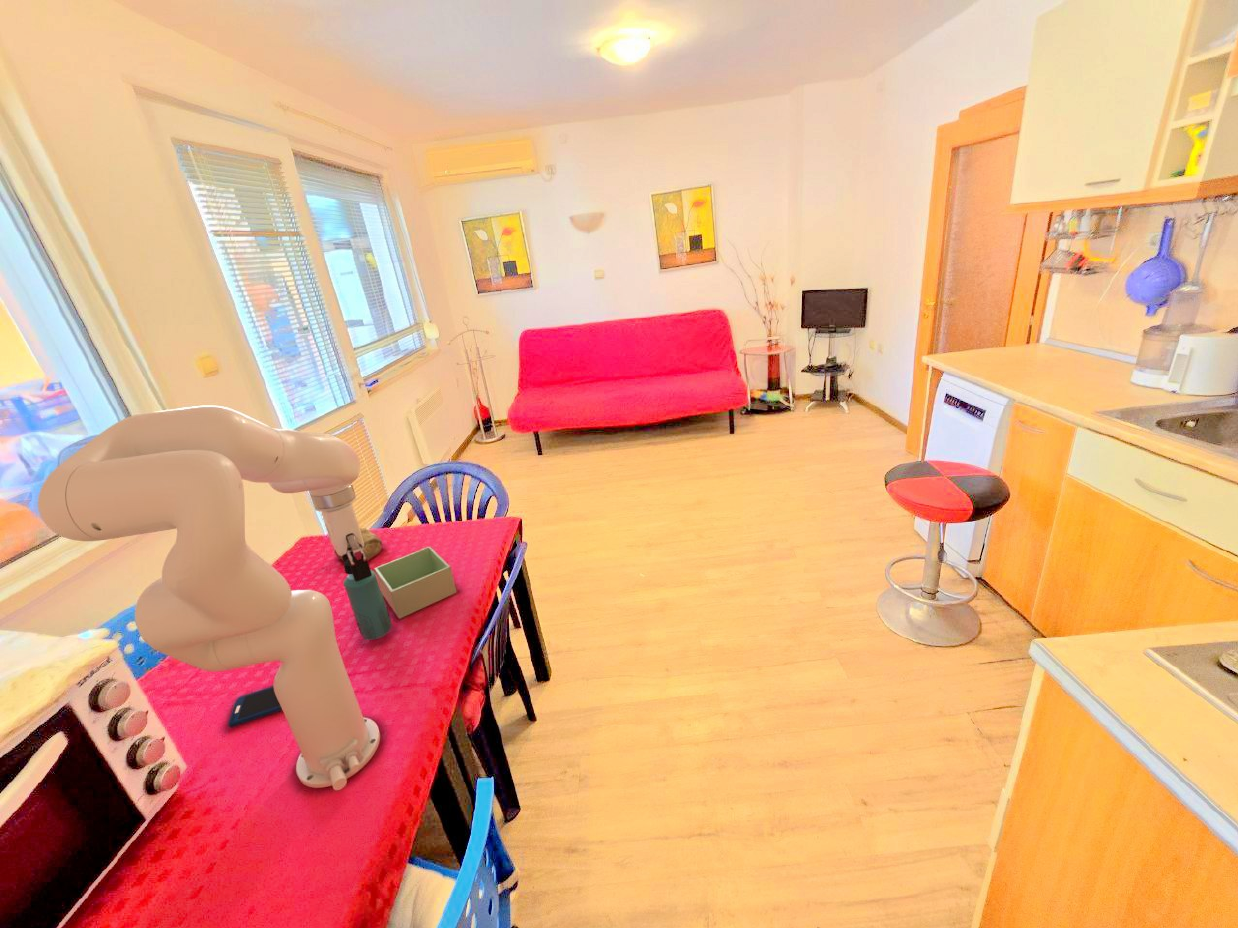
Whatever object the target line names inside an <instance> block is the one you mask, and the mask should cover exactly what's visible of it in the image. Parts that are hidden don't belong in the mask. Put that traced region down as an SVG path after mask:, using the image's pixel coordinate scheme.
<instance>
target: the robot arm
mask: <svg viewBox="0 0 1238 928" xmlns="http://www.w3.org/2000/svg"><path fill="white" fill-rule="evenodd" d="M360 472H361V462H360V458H359V455H358V453H357V452H356V450H355V448H353V446H351V445H350V444H349V443H348V442H347V441H345V440H343V439H341V438H339V437H337V436H335V435H333V434H329V433H328V434H327V433H317V432H311V431H310V432H309V431H301V430H294V429H285V428H275V427H272V426H271V425H268V424H266V423H264V422H261V421H259V420H257V419H255V418H253V417H251V416H249V415H246V414H244V413H242V412H240V411H238V410H234V409H233V408H229V407H226V406H223V405H221V406H220V405H199V406H198V405H197V406H190V407H189V406H188V407H180V408H174V409H165V410H158V411H150V412H143V413H137V414H133V415H129V416H128V417H126V418H123V419H122V420H119V421H118V422H116V423H113V424H112V425H110V426H109V427H108V428H106V429H105V430H103V431H102V432H101V433H99V434H98V435H97V436H95V437H93V439H90V441H89V442H87V443H85V445H84V446H82V447H81V448H79V449H78V450H77V451H76V452H75V453H73V454H72V455H71V456H69V457H68V458H67V459H66V460H64V461H63V462H61V463H60V464H59V465H58V466H57V467H56V468H55V469H53V470H52V472H51V473H49V475H48V476H47V478H46V479H45V480H44V482H43V483H42V485H41V488H40V491H39V493H38V498H37V508H38V512H39V515H40V517H41V521H42V522H43V523H44V524H45V526H46V528H48V529H49V530H50V531H51V532H52V533H55V534H57V535H58V536H60V537H61V538H65V539H68V540H70V541H78V542H101V541H107V540H114V539H119V538H120V539H121V538H126V537H131V536H132V537H133V536H139V535H145V534H151V533H157V532H163V531H170V530H176V539H175V542H174V544H173V545H172V547H171V548H170V550H169V552H168V553H167V555H166V557H165V560H164V562H163V565H162V569H161V577H160V578H158V579H155V580H154V581H153V582H152V583H150V584H149V585H148V586H146V588H145V589H143V591H142V592H141V593H140V595H139V597H138V599H137V601H136V604H135V609H134V622H135V626H136V628H137V631H138V633H139V635H140V636H141V638H142V640H143V641H144V642H145V643H146V645H148V646H149V647H150V648H151V649H153V650H154V651H156V652H159V653H161V654H162V655H165V656H167V657H170V658H172V659H175V660H177V661H179V662H182V663H184V664H187V665H189V666H191V667H194V668H196V669H199V670H202V671H205V672H206V671H207V672H213V673H214V672H224V671H225V672H226V671H230V670H236V669H241V668H246V667H251V666H255V665H260V664H266V663H272V662H279V663H281V664H280V665H279V667H278V669H277V671H276V673H275V674H274V678H273V683H272V684H273V685H272V686H273V687H274V692H275V695H276V697H277V700H278V701H279V703H280V706H281V708H282V710H281V711H282V712H283V714H284V718H285V720H286V722H287V724H288V726H289V729H290V731H291V733H292V735H293V738H294V740H295V742H296V744H297V747H298V749H299V751H300V754H299V755H298V759H297V760H296V764H295V765H296V766H295V773H296V775H297V777H298V780H299V781H300V782H301V783H302V784H303V785H304V786H306V787H309V788H314V789H319V788H327V787H332V789H333V790H334V791H340V790H342V789H344V788H345V787H346V785H347V783H348V779H349V778H351V777H352V776H354V775H355V774H357V773H358V772H359V771H360V770H362V769H363V768H364V767H365V766H366V765H367V764H368V763H369V762H370V760H371V759H372V758H373V756H374V755H375V753H376V752H377V750H378V748H379V745H380V741H381V731H380V730H379V726H378V724H377V723H376V722H375V721H374V720H373V719H371V718H368V717H365V716H364V715H363V713H362V709H361V706H360V704H359V701H358V698H357V696H356V694H355V691H354V688H353V685H352V682H351V680H350V677H349V674H348V671H347V669H346V666H345V664H344V663H345V662H344V661H343V658H342V655H341V652H340V649H339V645H338V642H337V637H336V631H335V622H334V615H333V609H332V605H331V603H330V600H329V599H328V597H327V596H326V595H325V594H324V593H322V592H320V591H317V590H314V589H296V590H295V589H294V590H292V588H291V586H290V584H289V582H288V580H287V579H286V578H285V576H283V575H282V574H281V573H280V572H279V571H278V570H277V569H276V568H275V567H274V566H272V565H271V564H270V563H269V562H268V561H267V560H265V559H264V557H262V556H261V555H259V554H258V553H257V552H256V551H254V550H253V548H252V547H250V545H249V544H248V543H247V541H246V521H245V519H246V518H245V517H246V515H245V514H246V513H245V511H246V509H245V489H244V483H243V480H244V481H248V482H252V483H259V484H263V483H264V484H266V483H267V484H269V486H270V487H271V488H272V489H273V490H274V491H276V492H278V493H282V494H296V493H297V494H298V493H304V492H308V494H309V497H310V500H311V503H312V505H313V509H314V510H315V511H317V512H320V513H321V516H322V518H323V522H324V525H325V528H326V532H327V534H328V538H329V541H330V543H331V546H332V547H333V549H334V551H335V550H336V552H337V554H338V555H339V556H342V559H343V561H342V562H343V563H344V562H345V561H346V560H348V559H349V560H350V563H351V564H350V568H351V571H352V574H353V576H354V579H355V581H356V582H358V581H360V580H363V579H365V578H368V577H370V576H371V575H372V573H371V570H372V569H371V568H370V564H369V560H368V561H367V558H366V557H365V555H364V552H363V550H362V548H363V547H364V542H363V538H362V534H361V531H360V528H361V527H360V525H359V522H358V521H359V520H358V518H357V515H356V513H355V510H354V507H353V503H355V501H356V500H357V495H356V492H355V489H354V486H353V483H354V482H356V480H357V479H358V477H359V475H360ZM352 557H353V558H352Z"/></svg>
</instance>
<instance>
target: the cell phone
mask: <svg viewBox="0 0 1238 928" xmlns="http://www.w3.org/2000/svg"><path fill="white" fill-rule="evenodd" d="M281 711H283V710H282V708H281V706H280V703H279V701H278V700H277V697H276V695H275V692H274V687H273V685H272V686H269V687H266V688H262V689H259V690H256V691H253V692H250V693H248V694H247V693H246V694H244V695H242V696H239V697H237V699H235V702H234V705H233V708H232V711H231V714H230V716H229V720H228V723H227V726H228V727H229V728H234V727H238V726H240V725H243V724H246V723H249V722H252V721H255V720H258V719H260V718H261V719H262V718H265V717H266V716H269V715H272V714H275V713H278V712H281Z"/></svg>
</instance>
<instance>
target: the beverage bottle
mask: <svg viewBox="0 0 1238 928" xmlns="http://www.w3.org/2000/svg"><path fill="white" fill-rule="evenodd" d="M352 558H353V557H352ZM350 564H351V563H350V560H349V559H348V560H346V561H345V562H344V561H343V567H344V572H345V574H347V576H346V577H345V579H344V580H343V587H344V589H345V591H346V594H347V597H348V601H349V604H350V607H351V610H352V613H353V616H354V618H355V622H356V625H357V628H358V631H359V633H360V635H361V637H362V638H363V639H364V640H367V641H374V640H379V639H381V638H383V637H384V636H386V635H388V634H389V632H391V630H392V625H393V622H392V621H393V620H392V618H391V617H390V616H391V615H390V613H389V609H388V607H387V604H386V599H385V597H384V596H383V594H382V592H381V589H380V586H379V582H378V579H377V576H376V573H375V570H372V569H370V570H371V573H372V575H371V576H370V577H368V578H365V579H363V580H360V581H358V582H356V581H355V579H354V576H353V574H352V571H351V568H350Z"/></svg>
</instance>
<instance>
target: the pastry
mask: <svg viewBox="0 0 1238 928" xmlns="http://www.w3.org/2000/svg"><path fill="white" fill-rule="evenodd" d="M359 528H360V531H361V534H362V538H363V542H364V547H363V548H362V550H363V552H364V555H365V557H366V558H367V561H368V562H369V561H370V560H372V559H373V558H375V556H377V555H379V554H380V553H381V551H382V545H383V541H382V539H381V538H380V537H379V536H378V535H377V534H375V533H373V532H372V531H370V530H369V529H367V528H365V527H359ZM333 551H334V554H335V556H336V557H337V558H338V559H340V560H341V561H342V562H344V561H343V559H342V556H339V555H338V554H337V552H336V550H335V549H334V550H333Z"/></svg>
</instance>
